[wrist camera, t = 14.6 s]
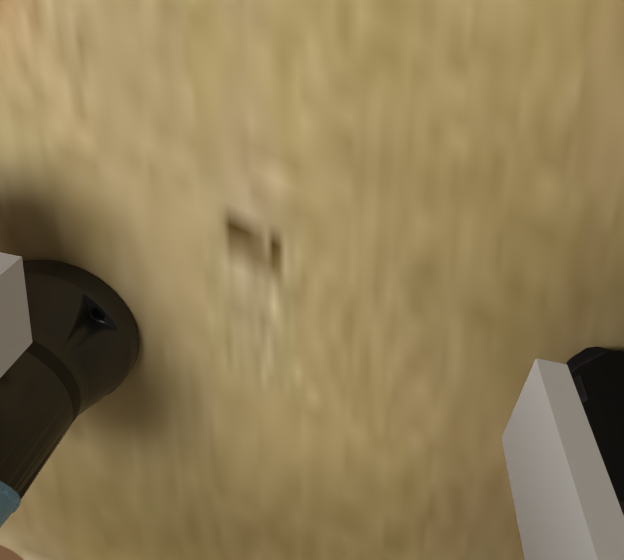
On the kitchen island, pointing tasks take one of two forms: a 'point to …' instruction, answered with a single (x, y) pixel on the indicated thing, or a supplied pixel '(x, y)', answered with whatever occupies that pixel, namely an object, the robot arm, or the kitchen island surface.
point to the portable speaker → (603, 405)
